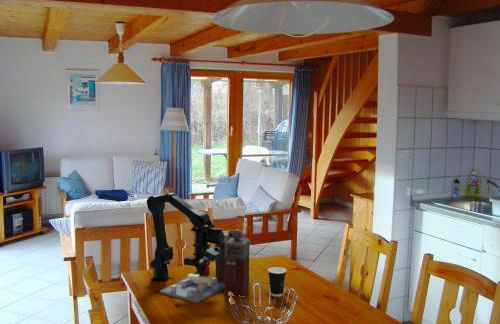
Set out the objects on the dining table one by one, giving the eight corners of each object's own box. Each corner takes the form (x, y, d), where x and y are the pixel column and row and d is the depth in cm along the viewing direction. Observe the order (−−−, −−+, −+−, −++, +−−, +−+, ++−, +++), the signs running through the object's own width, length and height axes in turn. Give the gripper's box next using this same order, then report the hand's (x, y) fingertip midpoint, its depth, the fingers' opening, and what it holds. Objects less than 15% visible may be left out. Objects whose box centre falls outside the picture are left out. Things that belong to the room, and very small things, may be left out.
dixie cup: (267, 291, 221) (267, 266, 219) (285, 291, 221) (285, 267, 219) (267, 297, 213) (268, 272, 212) (286, 298, 213) (286, 273, 212)
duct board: (160, 293, 216) (160, 284, 216) (191, 278, 235) (191, 271, 235) (197, 302, 206) (197, 294, 206) (227, 286, 225) (227, 278, 225)
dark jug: (222, 297, 212) (223, 233, 209) (229, 288, 223) (229, 226, 220) (243, 299, 210) (244, 234, 207) (248, 290, 221) (249, 228, 218)
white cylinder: (188, 284, 226) (186, 277, 224) (193, 278, 229) (191, 271, 227) (209, 289, 220) (207, 282, 218) (214, 283, 223) (212, 276, 221)
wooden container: (252, 274, 243) (252, 229, 240) (235, 283, 230) (235, 236, 228) (227, 268, 251) (227, 225, 248) (209, 276, 238) (209, 231, 236)
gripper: (203, 249, 211) (203, 285, 212) (228, 239, 227) (227, 273, 228) (182, 245, 216) (182, 280, 218) (207, 236, 232) (207, 268, 234)
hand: (201, 275), depth 224 cm, fingers closed
